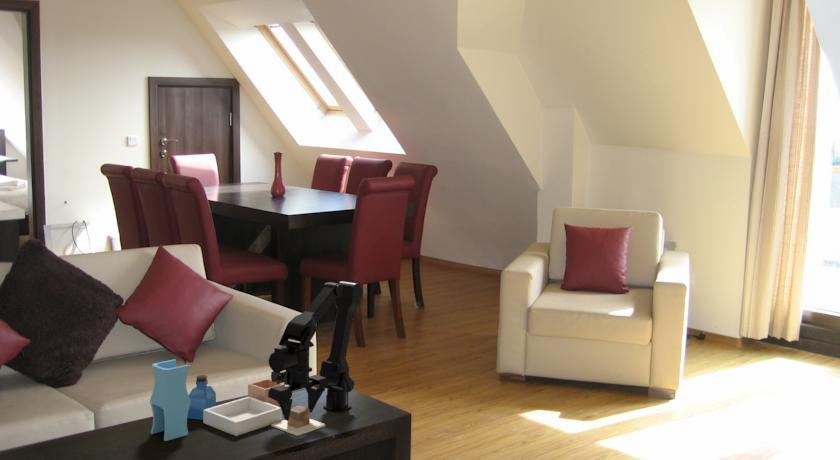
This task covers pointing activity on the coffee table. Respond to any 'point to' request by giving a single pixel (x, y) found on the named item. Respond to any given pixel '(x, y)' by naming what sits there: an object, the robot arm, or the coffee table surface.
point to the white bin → (242, 415)
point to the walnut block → (299, 417)
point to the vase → (170, 400)
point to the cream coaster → (298, 431)
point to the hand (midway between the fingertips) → (298, 416)
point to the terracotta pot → (263, 390)
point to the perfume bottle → (201, 398)
